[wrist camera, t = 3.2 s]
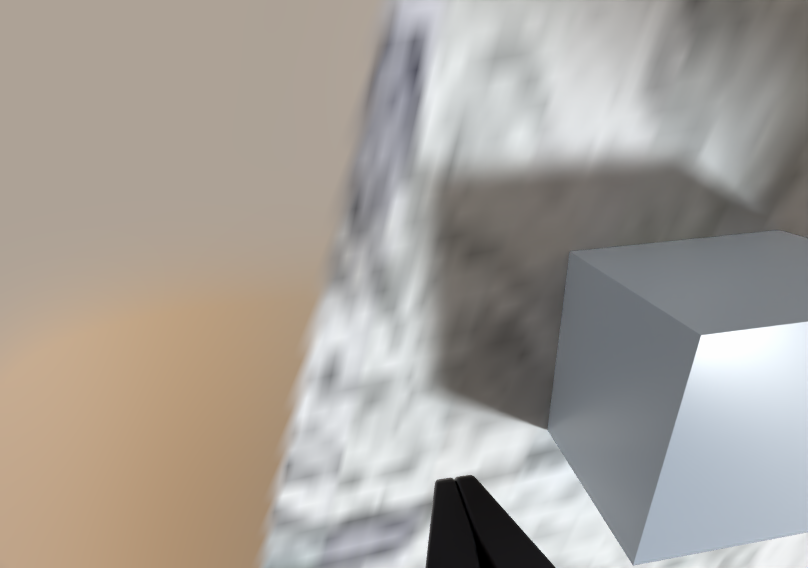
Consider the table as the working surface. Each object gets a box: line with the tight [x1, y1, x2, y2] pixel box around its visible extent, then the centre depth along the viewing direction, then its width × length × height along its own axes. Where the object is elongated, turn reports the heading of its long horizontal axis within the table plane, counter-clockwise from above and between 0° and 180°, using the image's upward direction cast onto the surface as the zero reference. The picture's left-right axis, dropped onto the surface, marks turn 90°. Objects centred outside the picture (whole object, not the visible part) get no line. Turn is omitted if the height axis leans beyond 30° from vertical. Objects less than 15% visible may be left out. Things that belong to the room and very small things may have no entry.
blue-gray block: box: [547, 230, 808, 566], centre depth 12 cm, size 8×7×5 cm
